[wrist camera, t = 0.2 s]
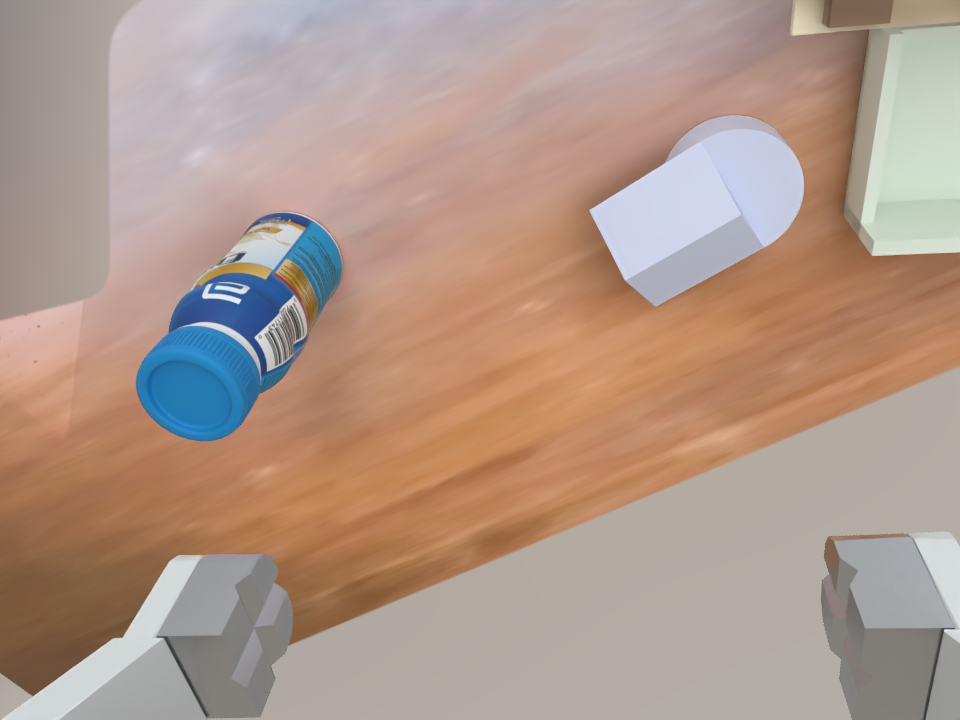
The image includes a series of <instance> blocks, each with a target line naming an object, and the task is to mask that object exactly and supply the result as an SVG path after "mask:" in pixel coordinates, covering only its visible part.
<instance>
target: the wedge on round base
mask: <svg viewBox="0 0 960 720" xmlns="http://www.w3.org/2000/svg"><path fill="white" fill-rule="evenodd" d="M803 193H804V178H803V172H802V169H801V166H800V163H799V161H798V159H797V158H796V156H795V154H794V153H793V151H792V150H791V149H790V147H789V146H788V144H787V143H786V141H785V140H784V139H783V137H782V136H781V135H780V134H779V133H778V132H777V131H776V130H775V129H774V128H773V127H771V126H770V125H768V124H767V123H765V122H763V121H761V120H759V119H756V118H753V117H749V116H742V115H728V116H721V117H717V118H713V119H710V120H708V121H705V122H703V123H701V124H699V125H697V126H695V127H694V128H693V129H691V130H690V131H688V132H687V133H686V134H685V135H684V136H683V137H682V138H681V139H680V140H679V141H678V142H677V143H676V144H675V146H674V147H673V149H672V150H671V152H670V153H669V155H668V157H667V160H666V162H665V164H663V165H661V166H660V167H658V168H657V169H655V170H653V171H652V172H650V173H649V174H647V175H645V176H644V177H642V178H640V179H639V180H637V181H636V182H634V183H632V184H631V185H629V186H628V187H626V188H624V189H623V190H621V191H620V192H618V193H616V194H615V195H613V196H611V197H610V198H608V199H607V200H605V201H603V202H602V203H600V204H599V205H597V206H595V207H594V208H592V209H590V210H589V211H590V213H591V215H592V217H593V218H594V220H595V222H596V224H597V226H598V228H599V230H600V232H601V234H602V236H603V238H604V240H605V242H606V244H607V246H608V248H609V250H610V252H611V254H612V256H613V258H614V260H615V262H616V264H617V266H618V268H619V270H620V272H621V274H622V276H623V278H624V280H625V281H626V282H627V283H628V284H630V285H631V286H632V287H633V288H634V289H635V290H637V291H638V292H639V293H640V294H641V295H642V296H644V297H645V298H646V299H647V300H648V301H649V302H651V303H652V304H653V305H654V306H655V307H656V306H658V305H660V304H662V303H663V302H665V301H667V300H669V299H671V298H673V297H674V296H676V295H678V294H680V293H682V292H684V291H686V290H687V289H689V288H691V287H693V286H695V285H697V284H698V283H700V282H702V281H704V280H706V279H708V278H709V277H711V276H713V275H715V274H717V273H719V272H720V271H722V270H724V269H726V268H728V267H730V266H732V265H733V264H735V263H737V262H739V261H741V260H743V259H744V258H746V257H748V256H750V255H752V254H754V253H755V252H757V251H759V250H761V249H763V248H765V247H766V246H768V245H769V244H771V243H773V242H774V241H775V240H776V239H778V238H779V237H780V236H781V235H782V234H783V233H784V232H785V231H786V230H787V229H788V227H789V226H790V225H791V224H792V222H793V220H794V219H795V217H796V215H797V213H798V211H799V209H800V206H801V203H802V199H803Z"/></svg>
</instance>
